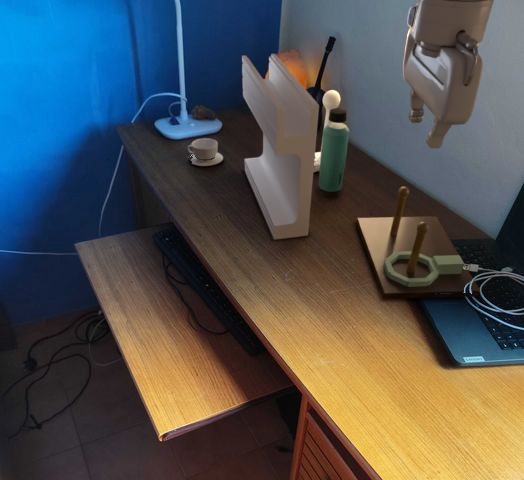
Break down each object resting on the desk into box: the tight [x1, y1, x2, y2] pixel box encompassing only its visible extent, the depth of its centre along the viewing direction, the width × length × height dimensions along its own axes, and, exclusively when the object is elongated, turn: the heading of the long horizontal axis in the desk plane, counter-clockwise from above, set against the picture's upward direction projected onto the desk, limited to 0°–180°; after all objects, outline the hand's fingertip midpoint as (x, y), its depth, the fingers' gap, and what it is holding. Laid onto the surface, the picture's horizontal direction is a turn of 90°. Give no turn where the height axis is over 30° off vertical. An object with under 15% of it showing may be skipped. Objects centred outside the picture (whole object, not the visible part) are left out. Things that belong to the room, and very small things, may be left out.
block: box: [241, 53, 320, 240], centre depth 108 cm, size 35×8×28 cm, turn 13°
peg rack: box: [356, 186, 481, 300], centre depth 97 cm, size 19×28×13 cm
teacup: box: [187, 137, 224, 167], centre depth 132 cm, size 10×10×5 cm
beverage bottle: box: [317, 107, 350, 193], centre depth 114 cm, size 6×7×20 cm
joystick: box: [313, 89, 341, 173], centre depth 123 cm, size 11×8×20 cm
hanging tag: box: [383, 251, 465, 287], centre depth 95 cm, size 15×10×2 cm
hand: (423, 133), depth 70 cm, fingers open, 8 cm apart
